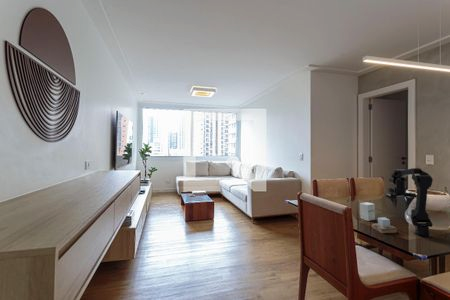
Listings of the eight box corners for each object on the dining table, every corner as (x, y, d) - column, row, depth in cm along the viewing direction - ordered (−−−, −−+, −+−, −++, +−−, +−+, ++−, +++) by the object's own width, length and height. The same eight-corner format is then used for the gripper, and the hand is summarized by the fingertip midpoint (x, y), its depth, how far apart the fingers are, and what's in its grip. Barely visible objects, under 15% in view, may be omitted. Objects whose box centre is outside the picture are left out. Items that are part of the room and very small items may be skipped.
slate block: (390, 226, 153) (389, 219, 153) (382, 227, 153) (382, 220, 153) (385, 224, 158) (384, 217, 158) (377, 224, 158) (377, 217, 158)
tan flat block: (396, 232, 151) (396, 228, 151) (381, 233, 151) (381, 228, 151) (386, 227, 161) (386, 222, 161) (372, 227, 161) (372, 223, 161)
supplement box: (368, 221, 174) (367, 205, 174) (360, 218, 181) (359, 202, 181) (375, 219, 176) (374, 203, 176) (367, 217, 183) (366, 201, 183)
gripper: (404, 183, 174) (405, 203, 174) (380, 185, 174) (381, 204, 174) (416, 186, 163) (417, 207, 163) (390, 187, 163) (391, 208, 163)
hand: (401, 207), depth 166 cm, fingers open, 9 cm apart
